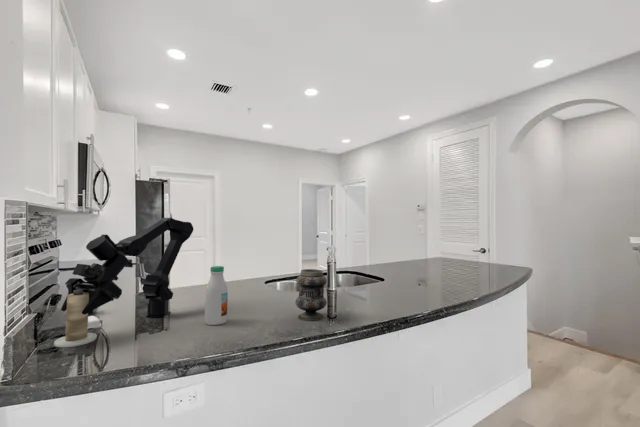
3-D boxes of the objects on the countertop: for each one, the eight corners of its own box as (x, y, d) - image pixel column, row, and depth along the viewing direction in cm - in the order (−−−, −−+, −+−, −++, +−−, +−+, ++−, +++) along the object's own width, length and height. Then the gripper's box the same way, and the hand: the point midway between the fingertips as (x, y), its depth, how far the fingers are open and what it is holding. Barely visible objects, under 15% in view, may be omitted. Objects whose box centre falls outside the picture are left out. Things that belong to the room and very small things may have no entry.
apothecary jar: (332, 317, 121) (333, 270, 122) (311, 324, 112) (311, 273, 113) (310, 311, 130) (311, 267, 130) (288, 317, 121) (289, 270, 122)
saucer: (104, 335, 99) (104, 332, 99) (79, 347, 89) (79, 344, 89) (72, 335, 99) (72, 332, 99) (44, 347, 89) (44, 344, 89)
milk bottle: (214, 327, 108) (215, 268, 109) (199, 323, 112) (201, 266, 113) (231, 321, 114) (232, 266, 115) (217, 318, 119) (218, 264, 119)
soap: (72, 326, 108) (72, 317, 108) (96, 322, 113) (96, 313, 113) (77, 332, 102) (78, 323, 102) (102, 327, 107) (102, 319, 107)
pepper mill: (91, 336, 95) (93, 289, 96) (71, 342, 90) (73, 292, 91) (81, 334, 97) (83, 288, 98) (61, 339, 92) (63, 291, 93)
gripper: (73, 252, 102) (30, 293, 91) (114, 255, 95) (73, 299, 84) (96, 273, 109) (59, 314, 98) (136, 277, 102) (101, 321, 91)
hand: (72, 312), depth 93 cm, fingers open, 9 cm apart
